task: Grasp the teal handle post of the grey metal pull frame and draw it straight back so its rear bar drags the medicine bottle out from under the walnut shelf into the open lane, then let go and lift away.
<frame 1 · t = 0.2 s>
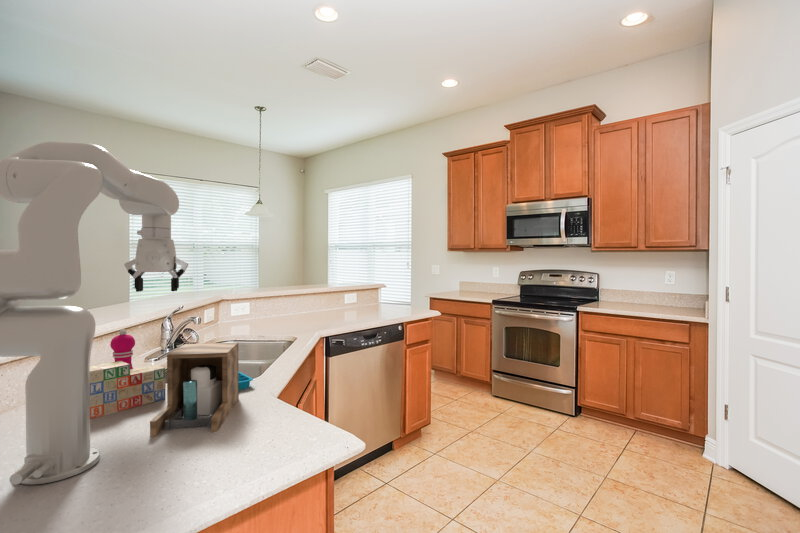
hand: (157, 291, 122), 31 cm above the worktop, tool pointing down, fingers open, 9 cm apart
medicine bottle: (203, 411, 108), resting in pull frame
pull frame: (200, 393, 105), point 5 cm above the worktop, slide at 0.0 cm
stack of blocks: (119, 408, 110), on the worktop
pepper mill: (123, 397, 118), on the worktop
shelf lane: (199, 415, 105), on the worktop
ice cube tray: (223, 385, 131), on the worktop
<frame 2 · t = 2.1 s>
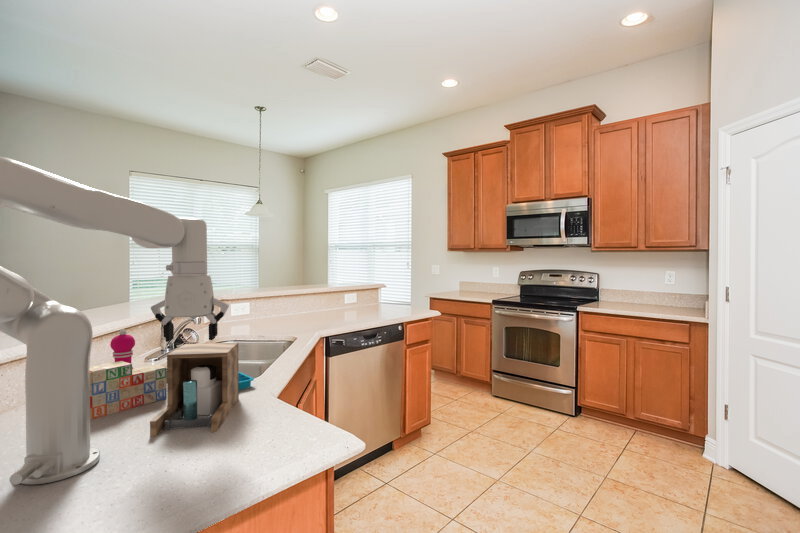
hand: (191, 339, 97), 21 cm above the worktop, tool pointing down, fingers open, 9 cm apart
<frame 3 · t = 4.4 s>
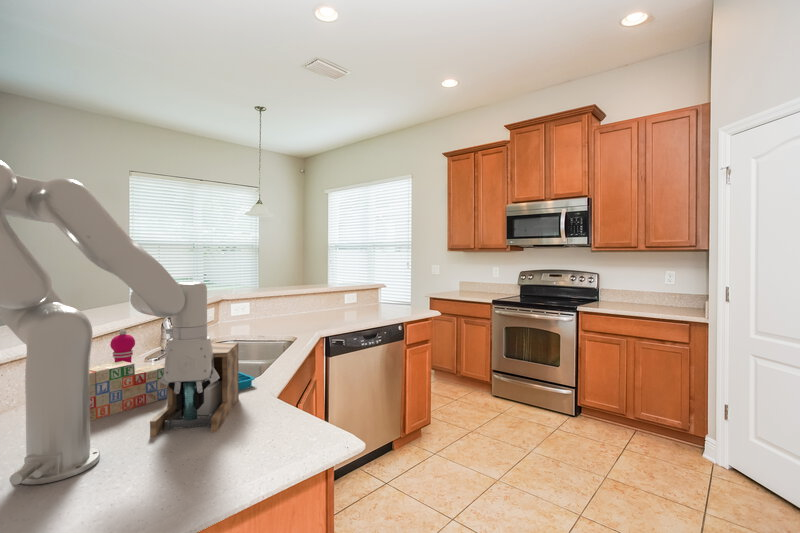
hand: (190, 407, 98), 5 cm above the worktop, tool pointing down, fingers closed on pull frame, 3 cm apart
pull frame: (200, 393, 105), point 5 cm above the worktop, slide at 0.0 cm, touching gripper
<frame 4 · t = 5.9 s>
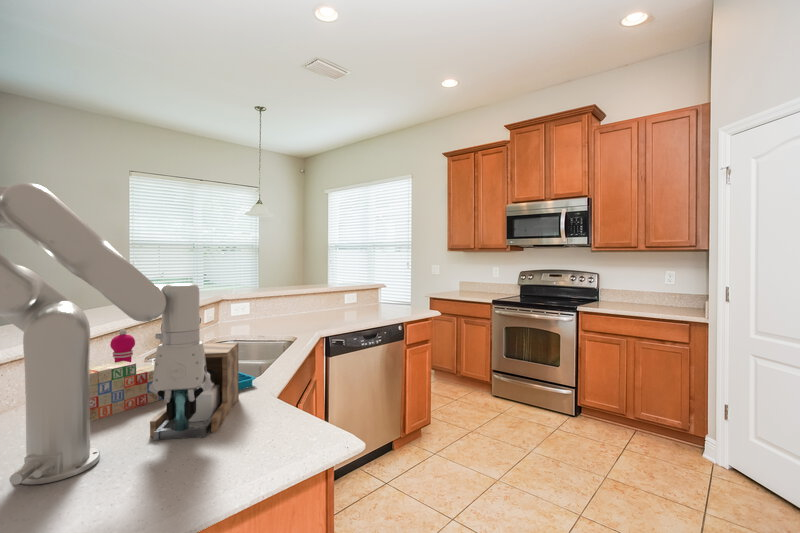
hand: (181, 416, 92), 5 cm above the worktop, tool pointing down, fingers closed on pull frame, 3 cm apart
medicine bottle: (201, 417, 104), resting in pull frame
pull frame: (192, 401, 99), point 5 cm above the worktop, slide at 6.0 cm, touching gripper, medicine bottle
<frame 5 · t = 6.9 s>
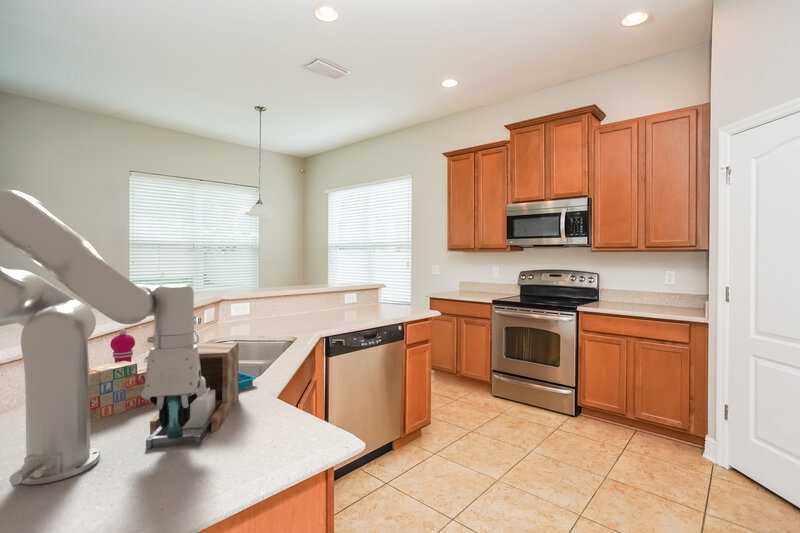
hand: (174, 423, 88), 5 cm above the worktop, tool pointing down, fingers closed on pull frame, 3 cm apart
medicine bottle: (196, 423, 100), resting in pull frame
pull frame: (187, 407, 95), point 5 cm above the worktop, slide at 9.9 cm, touching gripper, medicine bottle
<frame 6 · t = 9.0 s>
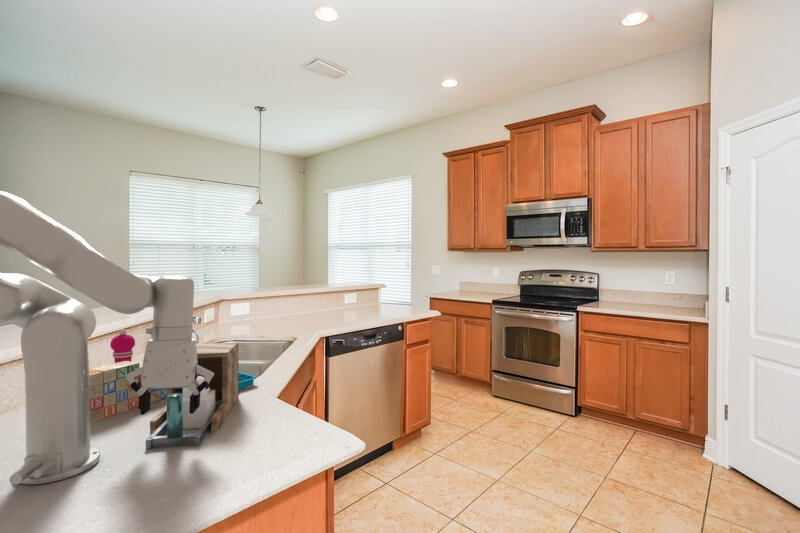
hand: (169, 411, 87), 8 cm above the worktop, tool pointing down, fingers open, 9 cm apart
medicine bottle: (196, 423, 100), resting in pull frame
pull frame: (186, 407, 95), point 5 cm above the worktop, slide at 10.0 cm
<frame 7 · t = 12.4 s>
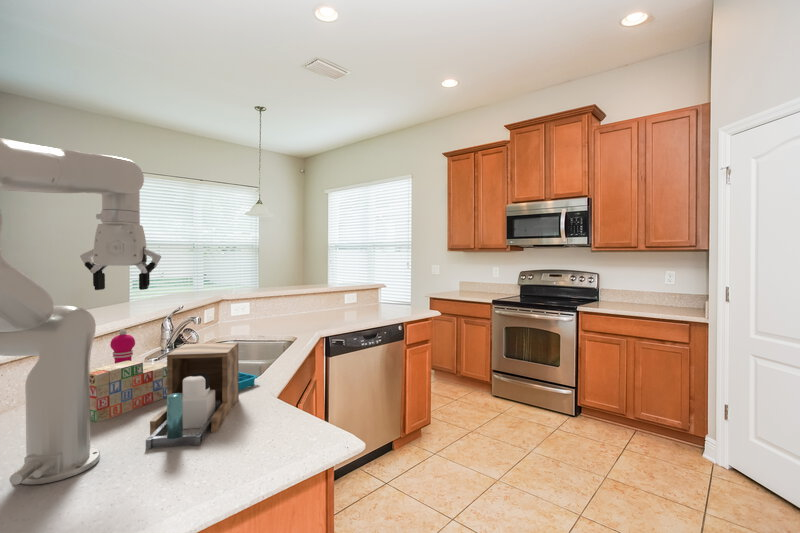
hand: (121, 289, 98), 33 cm above the worktop, tool pointing down, fingers open, 9 cm apart
at the end: medicine bottle inside the target area (2.9 cm from its centre), resting in pull frame; medicine bottle tilted 0°; pull frame slide at 10.0 cm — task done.
